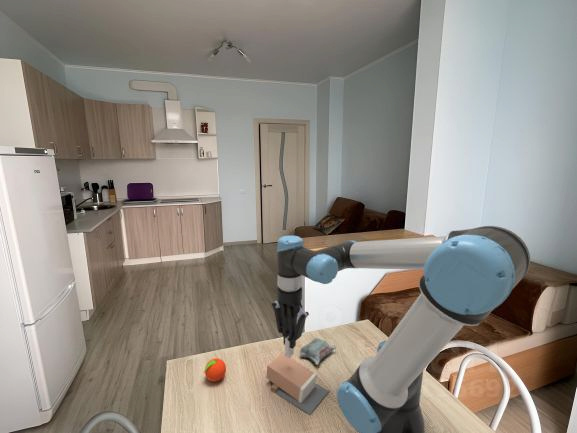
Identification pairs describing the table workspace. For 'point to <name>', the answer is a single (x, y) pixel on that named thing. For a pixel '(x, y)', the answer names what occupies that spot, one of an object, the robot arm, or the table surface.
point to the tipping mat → (308, 402)
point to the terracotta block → (291, 377)
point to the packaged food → (316, 350)
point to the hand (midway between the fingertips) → (289, 354)
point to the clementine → (215, 369)
